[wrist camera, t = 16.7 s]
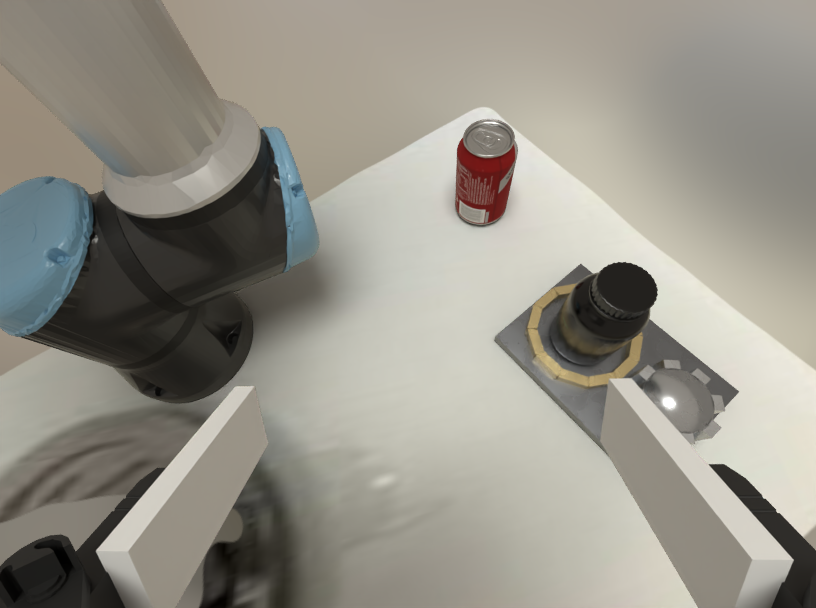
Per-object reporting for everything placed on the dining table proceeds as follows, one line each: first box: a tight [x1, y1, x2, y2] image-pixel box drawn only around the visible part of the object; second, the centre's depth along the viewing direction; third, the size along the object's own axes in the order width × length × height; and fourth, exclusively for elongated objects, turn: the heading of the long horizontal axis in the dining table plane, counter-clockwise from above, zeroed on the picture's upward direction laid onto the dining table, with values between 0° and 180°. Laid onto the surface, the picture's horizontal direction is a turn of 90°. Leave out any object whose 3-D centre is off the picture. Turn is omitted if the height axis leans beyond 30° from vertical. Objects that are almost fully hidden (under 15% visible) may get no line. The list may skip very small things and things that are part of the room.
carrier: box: [494, 264, 739, 453], centre depth 40 cm, size 20×14×5 cm
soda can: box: [455, 119, 518, 225], centre depth 47 cm, size 7×7×12 cm
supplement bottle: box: [550, 262, 658, 365], centre depth 37 cm, size 7×7×12 cm
